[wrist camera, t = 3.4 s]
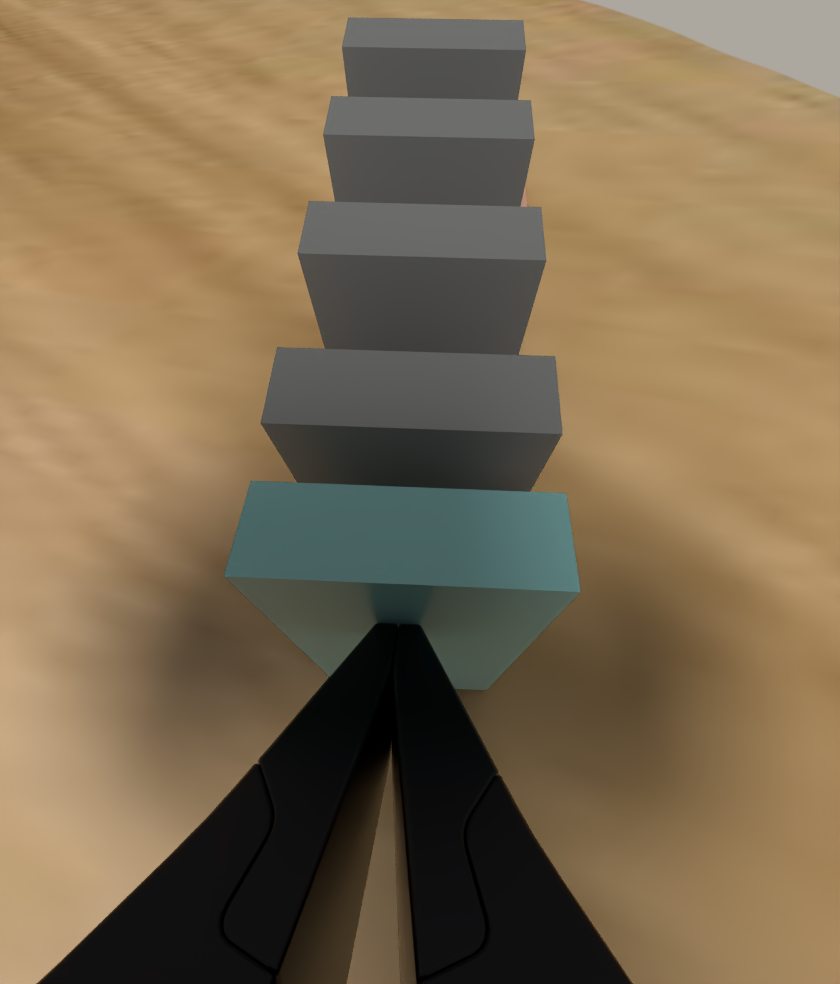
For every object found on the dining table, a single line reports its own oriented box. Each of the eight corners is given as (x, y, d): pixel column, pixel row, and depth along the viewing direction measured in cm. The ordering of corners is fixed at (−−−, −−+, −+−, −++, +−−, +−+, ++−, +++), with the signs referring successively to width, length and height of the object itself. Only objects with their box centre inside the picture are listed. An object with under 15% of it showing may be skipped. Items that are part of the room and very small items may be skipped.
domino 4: (484, 572, 16) (562, 433, 7) (349, 566, 17) (261, 423, 7) (483, 531, 17) (555, 356, 8) (354, 526, 17) (277, 347, 8)
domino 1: (481, 324, 21) (525, 49, 12) (376, 320, 21) (342, 46, 12) (480, 298, 22) (523, 20, 13) (379, 295, 22) (348, 17, 13)
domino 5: (486, 690, 15) (580, 591, 6) (336, 683, 15) (223, 576, 6) (484, 640, 16) (565, 493, 7) (342, 633, 16) (250, 480, 7)
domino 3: (482, 475, 18) (546, 260, 9) (360, 470, 18) (297, 252, 9) (482, 440, 19) (541, 206, 10) (363, 436, 19) (309, 201, 10)
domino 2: (481, 393, 20) (534, 139, 10) (369, 389, 20) (323, 134, 11) (481, 364, 20) (531, 100, 11) (372, 360, 20) (331, 96, 11)
